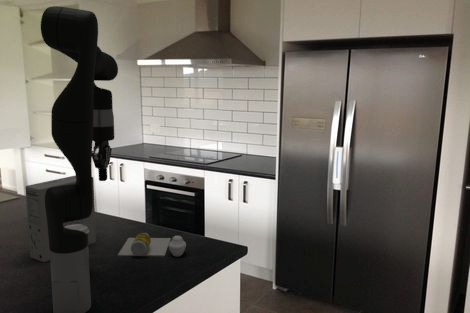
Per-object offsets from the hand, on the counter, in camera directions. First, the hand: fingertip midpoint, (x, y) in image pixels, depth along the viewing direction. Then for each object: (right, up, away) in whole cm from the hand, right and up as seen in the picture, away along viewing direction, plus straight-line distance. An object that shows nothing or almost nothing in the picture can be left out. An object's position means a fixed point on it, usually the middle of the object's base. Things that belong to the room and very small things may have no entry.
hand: (103, 180), depth 127 cm
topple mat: (+8, -26, +23) cm, 35 cm away
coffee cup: (-8, -29, +1) cm, 31 cm away
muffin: (+21, -27, +17) cm, 38 cm away
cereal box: (-20, -26, +19) cm, 38 cm away
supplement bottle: (+8, -24, +13) cm, 28 cm away
